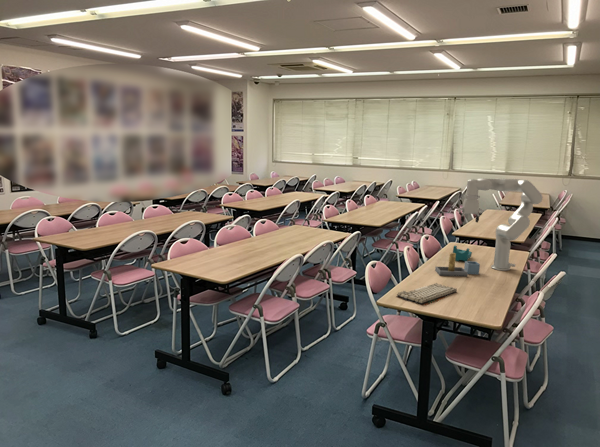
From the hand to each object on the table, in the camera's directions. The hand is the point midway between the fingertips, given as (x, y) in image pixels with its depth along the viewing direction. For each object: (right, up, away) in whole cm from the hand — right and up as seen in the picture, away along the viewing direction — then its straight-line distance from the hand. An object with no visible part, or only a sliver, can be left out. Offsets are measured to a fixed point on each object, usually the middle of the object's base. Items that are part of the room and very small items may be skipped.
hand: (469, 222), depth 323 cm
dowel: (-15, -34, -8) cm, 38 cm away
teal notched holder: (+6, -28, +34) cm, 45 cm away
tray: (-15, -35, -8) cm, 39 cm away
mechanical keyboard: (-43, -43, -52) cm, 80 cm away
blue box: (0, -35, -4) cm, 35 cm away
